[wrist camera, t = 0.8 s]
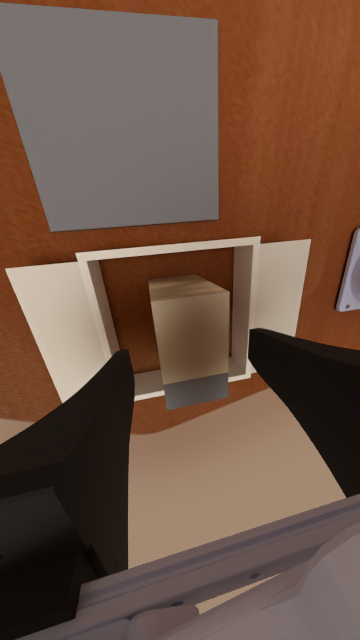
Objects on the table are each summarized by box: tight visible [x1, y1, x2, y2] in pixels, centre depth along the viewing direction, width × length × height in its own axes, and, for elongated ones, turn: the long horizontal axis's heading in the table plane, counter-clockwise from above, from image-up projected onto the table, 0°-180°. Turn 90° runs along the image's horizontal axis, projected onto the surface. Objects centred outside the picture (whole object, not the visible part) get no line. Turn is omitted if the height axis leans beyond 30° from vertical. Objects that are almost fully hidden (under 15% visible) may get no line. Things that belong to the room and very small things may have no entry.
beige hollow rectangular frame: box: [5, 236, 311, 403], centre depth 15 cm, size 20×12×3 cm, turn 94°
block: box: [148, 274, 230, 410], centre depth 14 cm, size 4×7×7 cm, turn 5°
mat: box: [0, 3, 219, 232], centre depth 12 cm, size 12×10×1 cm
